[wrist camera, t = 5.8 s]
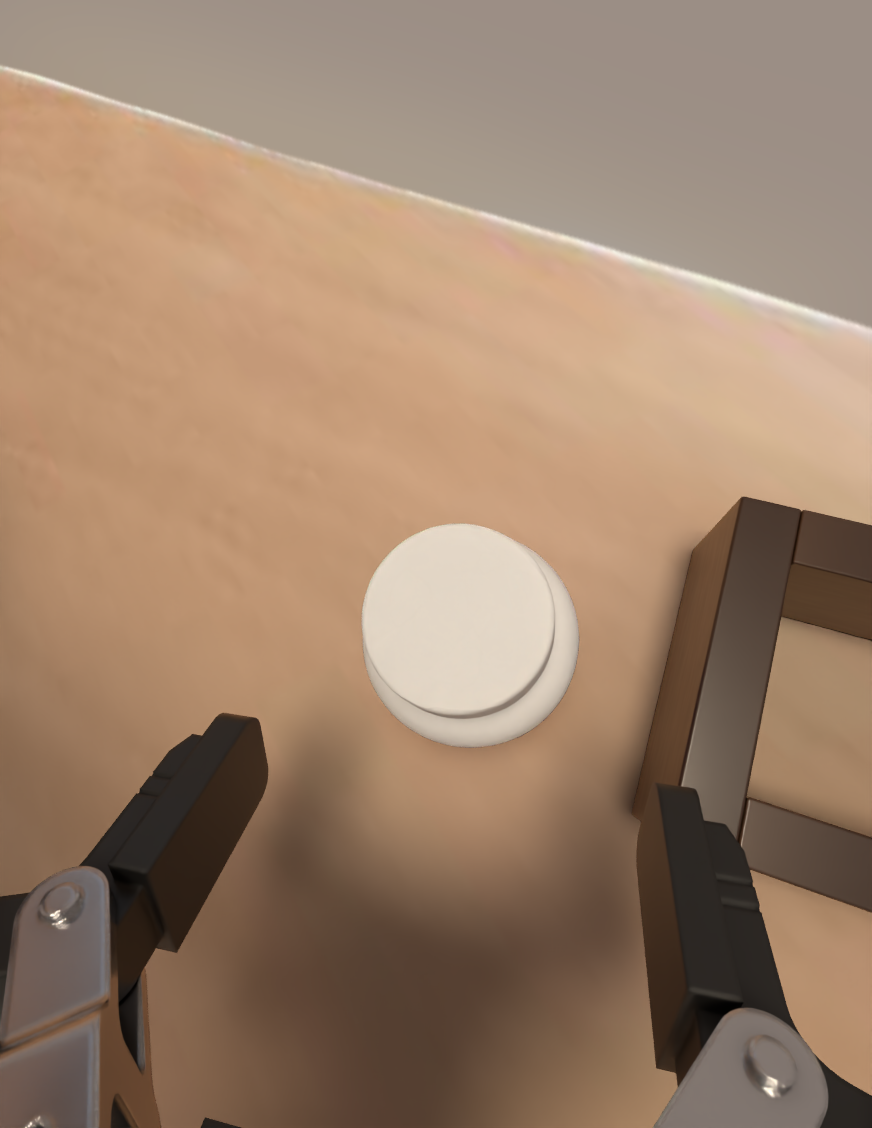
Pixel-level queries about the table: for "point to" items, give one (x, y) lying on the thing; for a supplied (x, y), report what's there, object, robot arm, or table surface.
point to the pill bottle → (468, 635)
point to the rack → (758, 682)
